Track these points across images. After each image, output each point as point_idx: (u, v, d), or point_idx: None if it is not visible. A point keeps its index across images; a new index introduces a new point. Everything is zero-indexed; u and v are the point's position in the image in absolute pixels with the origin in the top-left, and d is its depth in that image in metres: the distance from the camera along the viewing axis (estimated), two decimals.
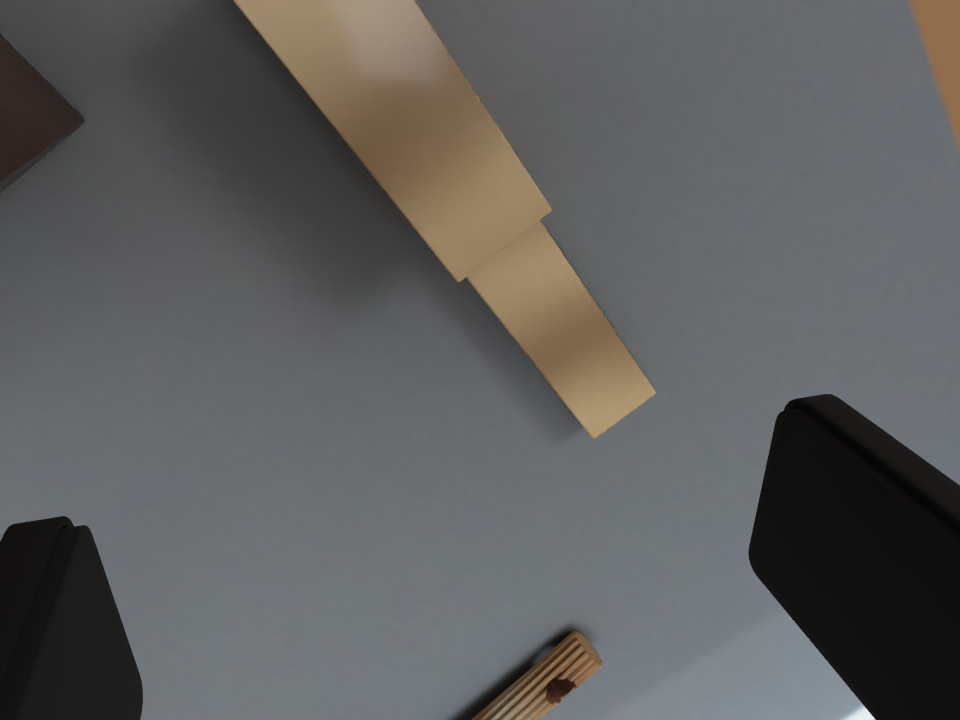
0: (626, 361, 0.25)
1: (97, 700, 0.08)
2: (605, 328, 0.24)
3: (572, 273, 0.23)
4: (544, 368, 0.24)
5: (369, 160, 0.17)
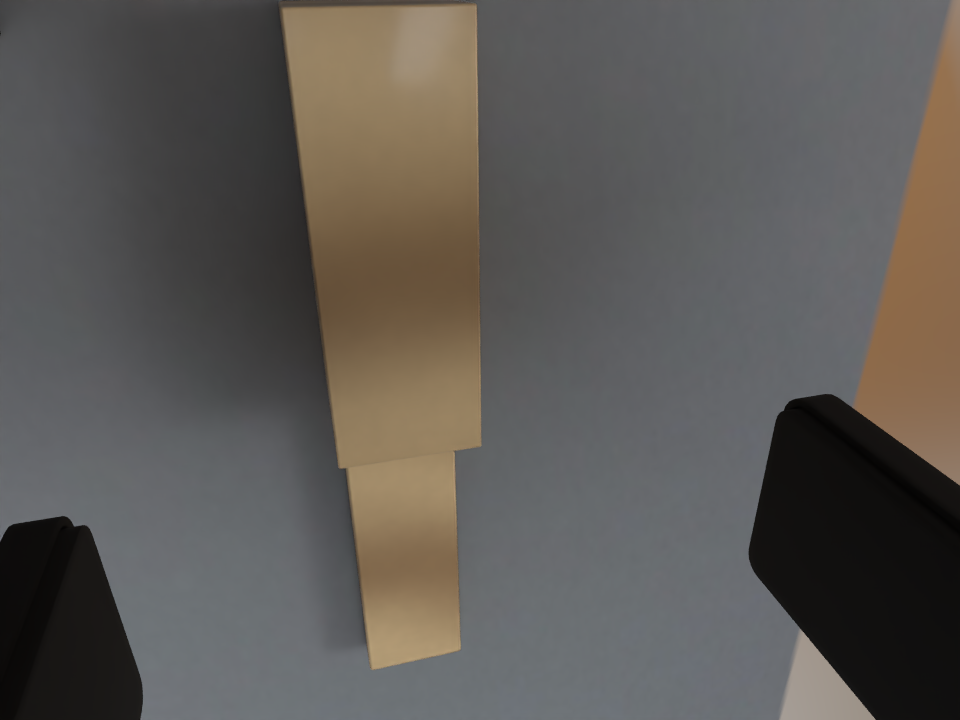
0: (451, 607, 0.21)
1: (97, 700, 0.08)
2: (451, 566, 0.20)
3: (453, 499, 0.19)
4: (366, 578, 0.20)
5: (326, 297, 0.14)
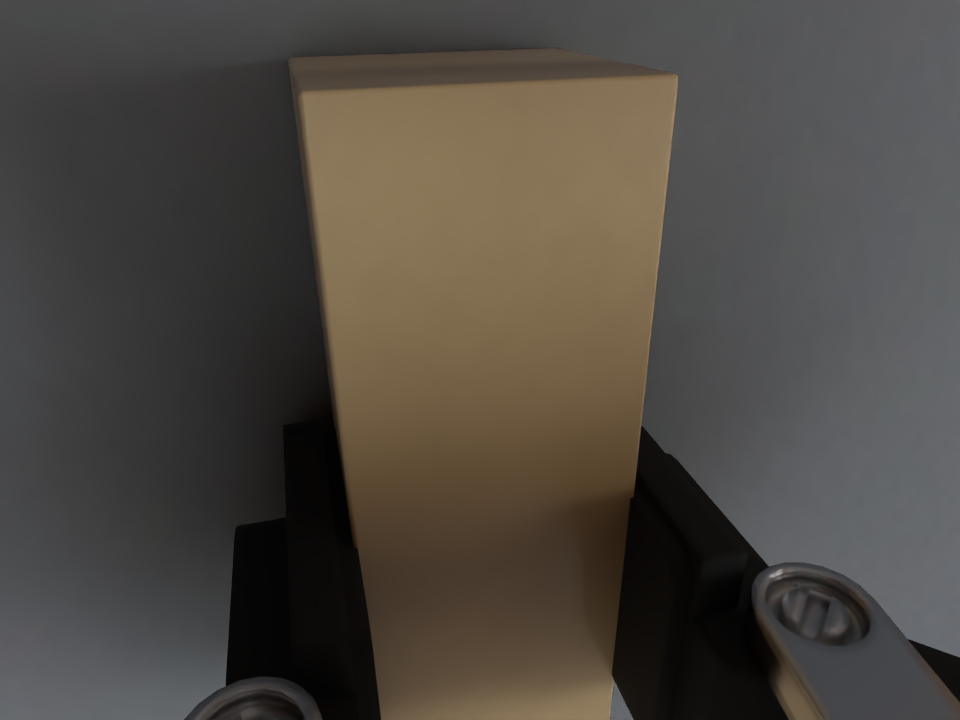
0: None
1: None
2: None
3: None
4: None
5: (374, 577, 0.08)
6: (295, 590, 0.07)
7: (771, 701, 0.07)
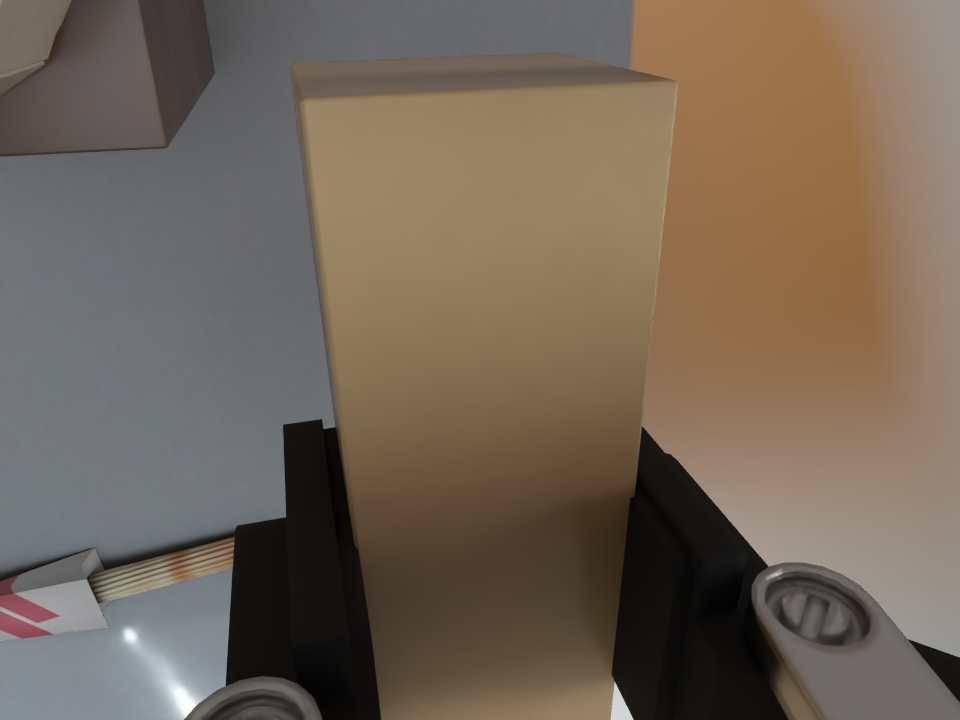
0: None
1: None
2: None
3: None
4: None
5: (376, 581, 0.08)
6: (295, 590, 0.07)
7: (771, 701, 0.07)
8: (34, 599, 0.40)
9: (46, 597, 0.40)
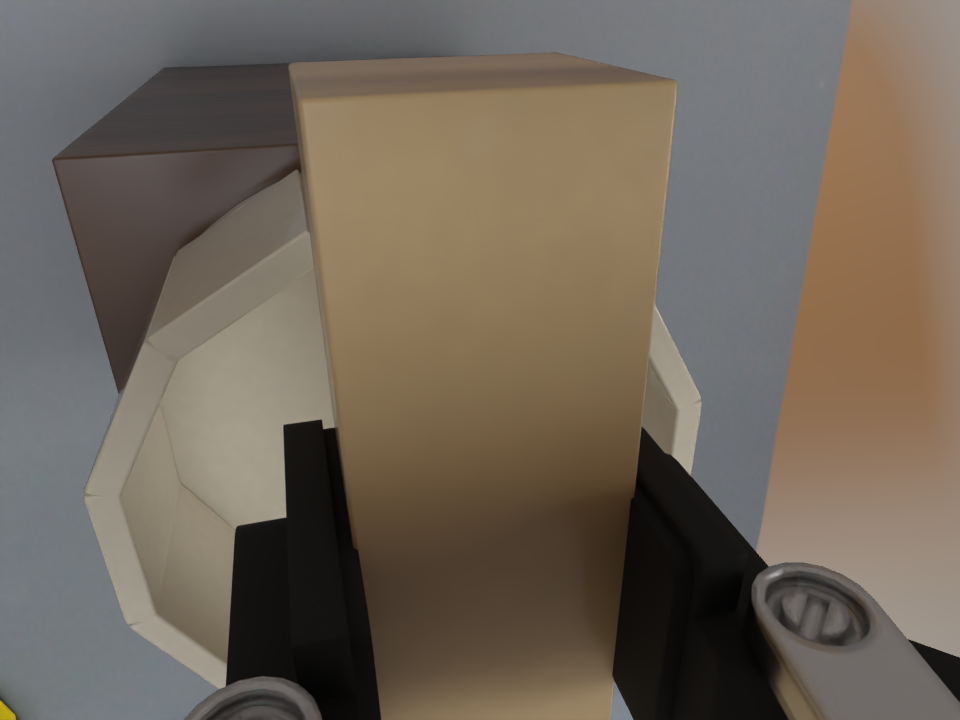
0: None
1: None
2: None
3: None
4: None
5: (374, 582, 0.08)
6: (295, 590, 0.07)
7: (771, 701, 0.07)
8: None
9: None
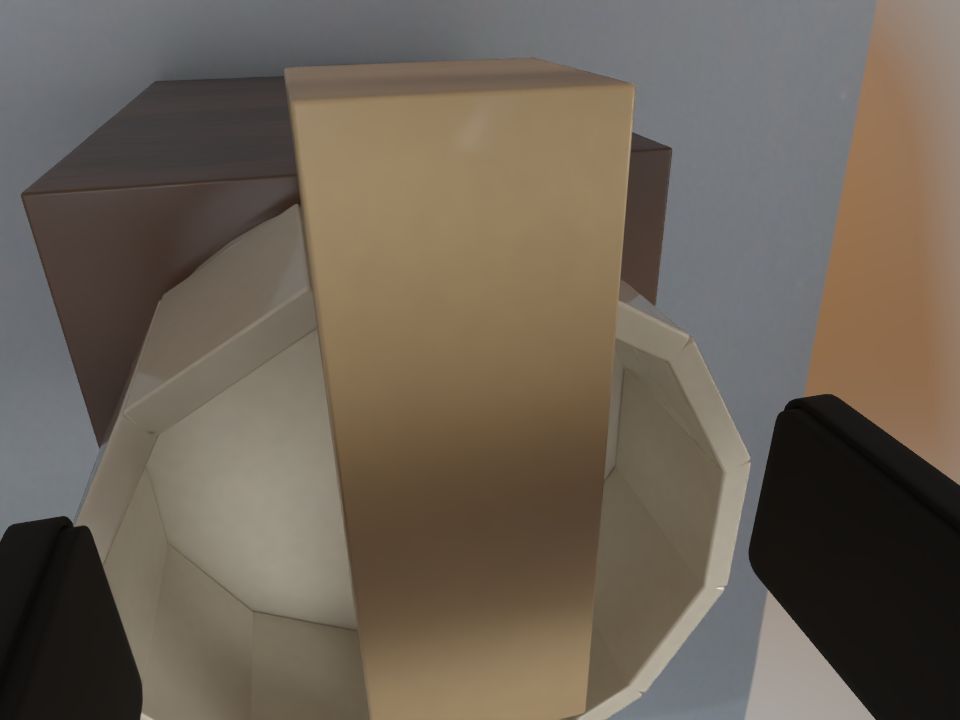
0: None
1: (97, 700, 0.08)
2: None
3: None
4: None
5: (363, 547, 0.08)
6: None
7: None
8: None
9: None
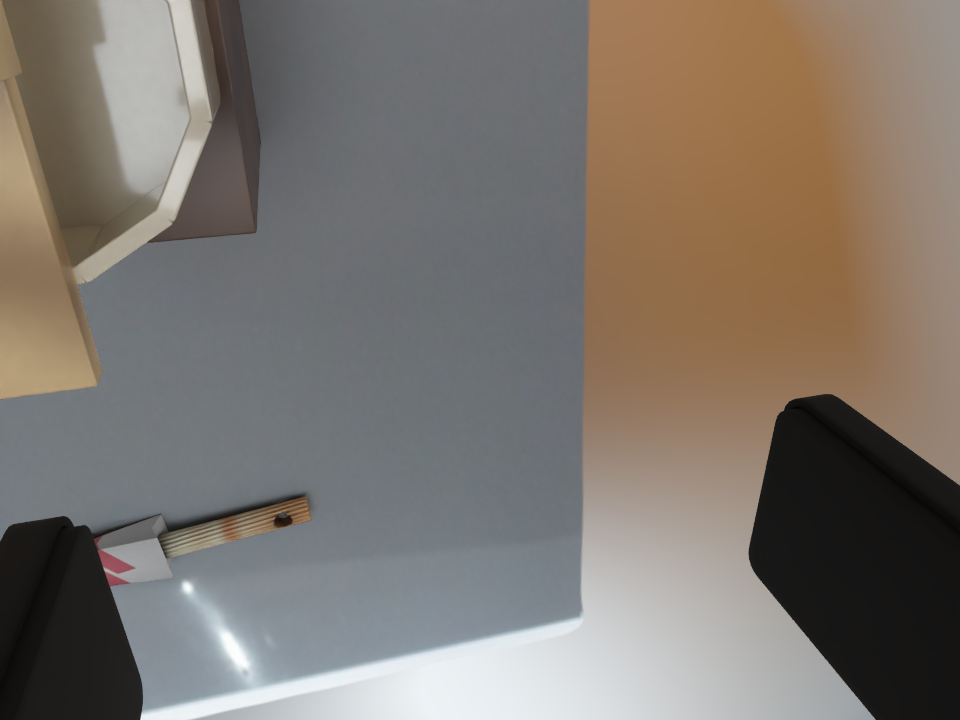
0: (70, 331, 0.21)
1: (97, 700, 0.08)
2: (55, 280, 0.21)
3: (34, 196, 0.20)
4: None
5: None
6: None
7: None
8: (116, 554, 0.50)
9: (125, 552, 0.50)
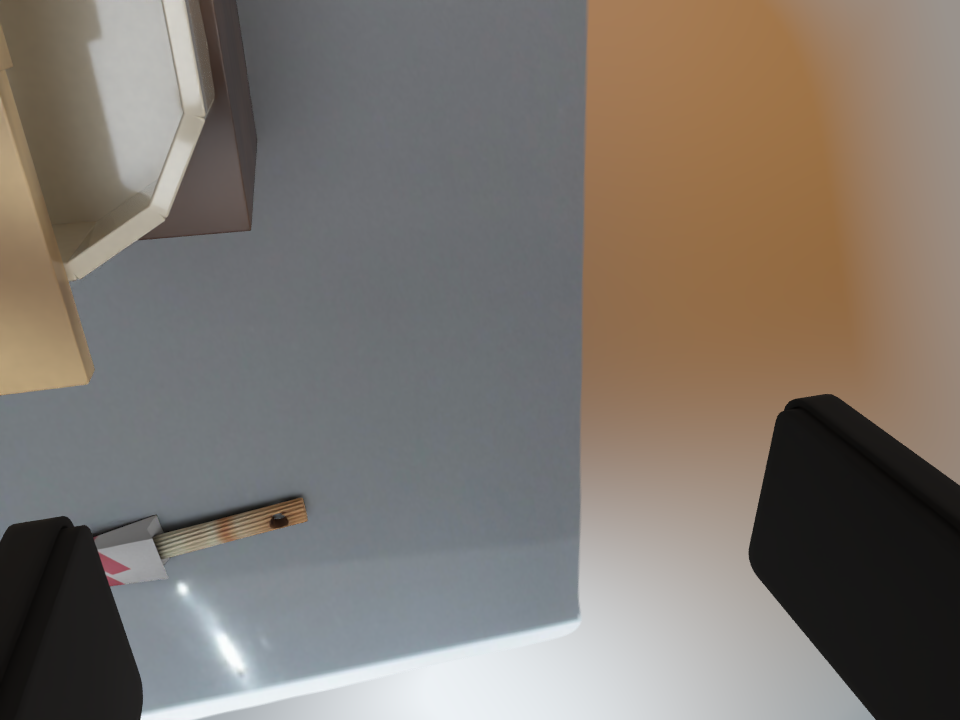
0: (62, 328, 0.21)
1: (97, 700, 0.08)
2: (46, 276, 0.20)
3: (25, 191, 0.19)
4: None
5: None
6: None
7: None
8: (110, 555, 0.50)
9: (120, 553, 0.50)
